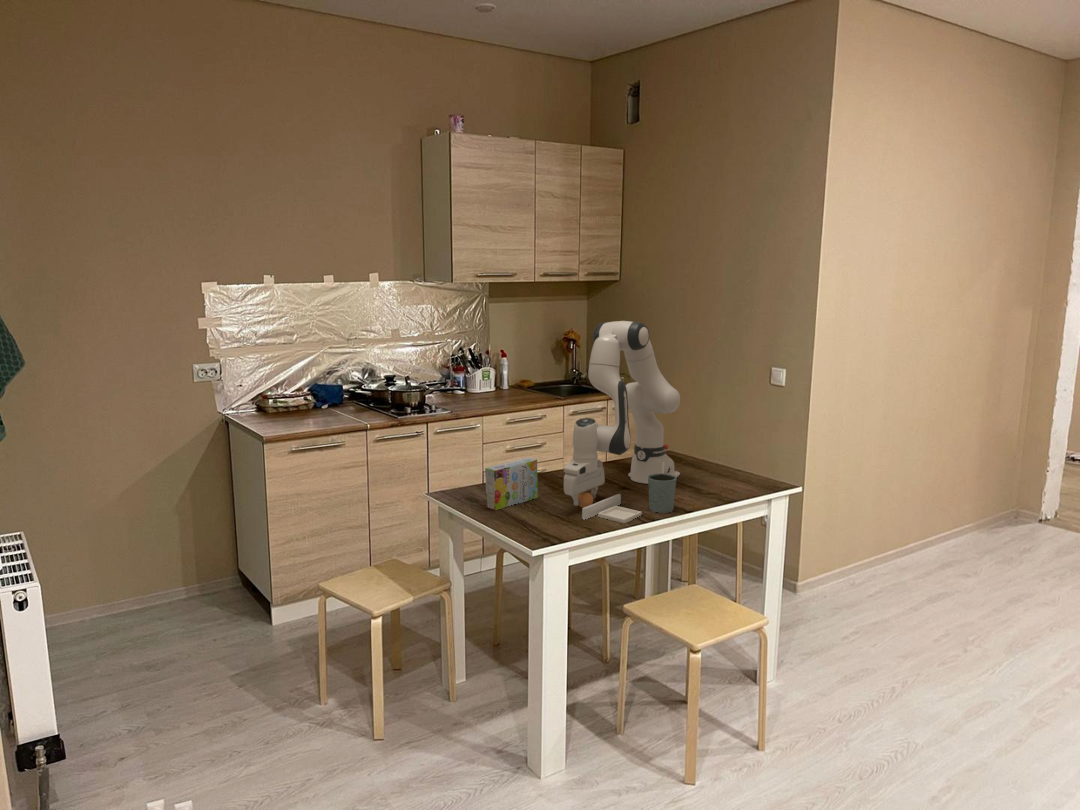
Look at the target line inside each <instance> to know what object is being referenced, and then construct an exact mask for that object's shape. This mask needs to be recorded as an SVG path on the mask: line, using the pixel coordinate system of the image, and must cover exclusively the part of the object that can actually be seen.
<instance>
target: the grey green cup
mask: <svg viewBox="0 0 1080 810" xmlns="http://www.w3.org/2000/svg"><path fill="white" fill-rule="evenodd" d="M677 478H678V477H676V476H674V475H670V474H651V475H649V476H648V484H647V485H648V507H649V508H648V509H649V511H650V512H652V511H654V512H653V513H655V512H658V513H657V514H669V512H670V513H672V512H673V511H674V508H675V498H676V497H675V496H676V485H677V480H678V479H677Z"/></svg>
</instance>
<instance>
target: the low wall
mask: <svg viewBox="0 0 1080 810" xmlns="http://www.w3.org/2000/svg"><path fill="white" fill-rule="evenodd" d="M621 500H622V494H620V493H618V494H614V495H612V496H609V497H607V498H605V499H602V500H600V501H598V502H595V503H592V505H590V506H587V507H585V508H581V509H582V510H581V520H582V519H583V521H586V520H588V518H589V519H590V517H591V518H593V517H596V516H598V515H597V514H598V513H599V512H602V511H604V510H606V509H609V508H611V507H614V506H618V505H619V506H621V505H622V503H621V502H622V501H621ZM620 504H621V505H620ZM595 515H596V516H595ZM585 519H586V520H585Z"/></svg>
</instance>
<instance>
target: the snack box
mask: <svg viewBox="0 0 1080 810" xmlns="http://www.w3.org/2000/svg"><path fill="white" fill-rule="evenodd" d="M484 474H485V475H484V476H485V477H484V478H485V503H486V505H485V506H486V508H487V509H489V508H490V510H493V511H498V509H499V510H501V509H502V510H503V509H505V507H506V508H508V506H509V507H512V506H515V505H514V504H516V505H519V504H522V503H525V502H529V501H532V499H533V500H535V499H538V498H539V490H538V489H539V487H538V484H539V483H538V459H536V458H532V457H525V458H520V459H516V460H512V461H508V462H504V463H500V464H496V465H493V466H488V467H485V468H484ZM518 503H519V504H518ZM511 505H512V506H511Z"/></svg>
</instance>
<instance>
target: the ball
mask: <svg viewBox="0 0 1080 810" xmlns="http://www.w3.org/2000/svg"><path fill="white" fill-rule="evenodd" d="M578 500H580V505H578V507H579V508H581V509H582V508H585V507H587V506H590V505H592V504H594V499H593V496H592V495H591V492H589V491H585V492H582V493H579V495H578Z"/></svg>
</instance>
